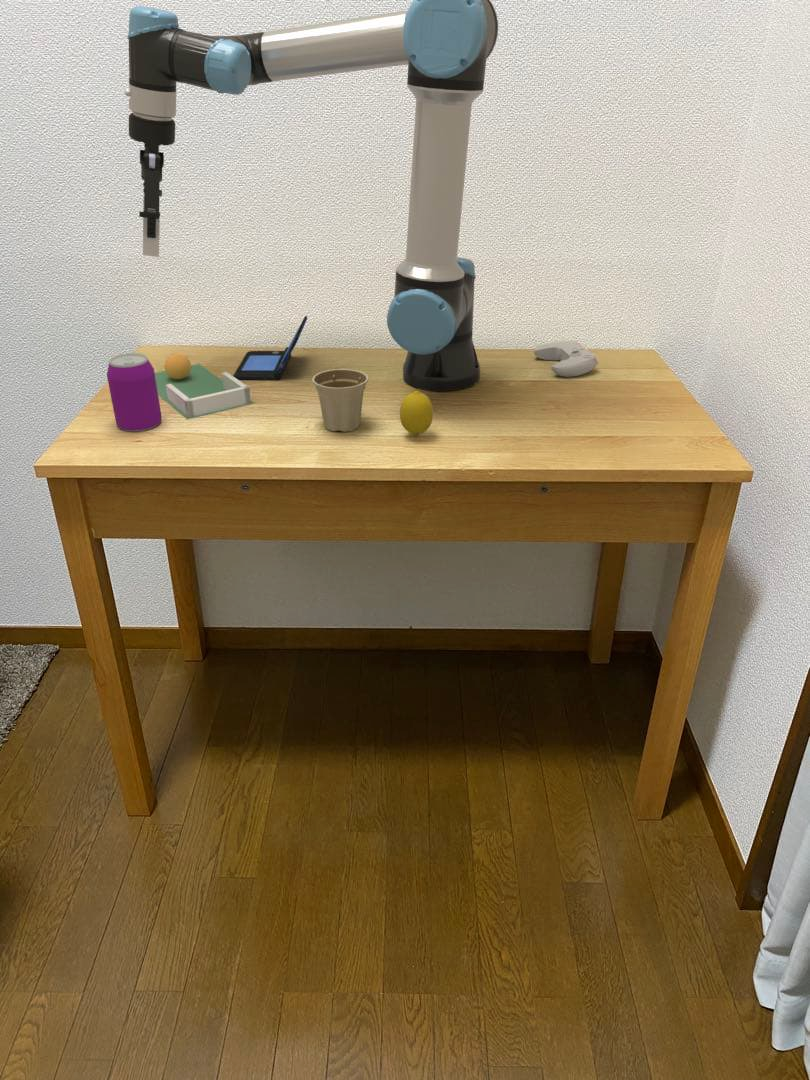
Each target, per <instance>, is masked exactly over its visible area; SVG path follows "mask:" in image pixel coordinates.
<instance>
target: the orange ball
mask: <svg viewBox="0 0 810 1080" xmlns="http://www.w3.org/2000/svg"><path fill="white" fill-rule="evenodd" d="M191 365H192V363H191V361H190V359H189V358H188V357H187V356H186V355H185V354H183V353H177V352H175V353H172V354H170V355H169V356H167V358H166V359H165V361H164V371H166V373H167V374H168V375H169V376H170V377H171V378H173V379H177V380H180V379H184V378H186V377H187V376H188V375H189V373H190V371H191Z"/></svg>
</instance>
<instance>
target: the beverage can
mask: <svg viewBox="0 0 810 1080" xmlns="http://www.w3.org/2000/svg"><path fill="white" fill-rule="evenodd" d="M155 373H156V372H155V369H154V367H153V365H152V363H151V361H150V360H149V358H148V356H147V354H144V353H138V352H137V353H136V352H129V353H122V354H117V355H115V356H112V357H111V358H109V360H108V368H107V372H106V377H107V383H108V389H109V395H110V398H111V404H112V409H113V414H114V420H115V424H116V425H117V427H118V428H119V429H121V430H123V431H125V432H126V431H127V432H144V431H148V430H152V429H154V428H156V427H158V426H159V425H160V424H161V422H162V420H163V419H162V410H161V404H160V398H159V397H160V396H159V395H158V391H157V385H156V379H155Z"/></svg>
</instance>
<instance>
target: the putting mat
mask: <svg viewBox="0 0 810 1080" xmlns="http://www.w3.org/2000/svg"><path fill="white" fill-rule="evenodd" d="M155 379H156V385H157V391H158V397H160V398H161V399H163V400H164V402H166V403H167V404H168V405H170V407H172V408H173V409H174V410H175V411H176V412H178V413H179V414H180V415H181V416H183V417H184V418H185V419H186V420H191V419H196V418H200V417H203V416H208V415H209V416H210V415H212V414H216V413H221V412H225V411H230V410H234V409H239V408H241V407H246V406H251V405H255V402H254V401H252V400H251V403H249V404H245V405H241V406H236V407H232V408H228V409H224V410H219V411H215V412H211V413H207V414H203V415H198V416H194V417H190V418H189V417H187V416H186V415H185V414H184V413H183V412H181V411H180V410H179V409H178V408H177V407H175V406H174V405H173V404H172V403H171V402H170V401H168V397H167V390H166V385H167V384H172V385H173V386H174V387H176V388H177V389H178V390H179V391H181V392H182V393H183V394H184V395H186V396H187V397H188V398H189V399H191V398H195V397H200V396H204V395H209V394H213V393H218V392H222V391H226V389H224V388H223V381H222V379H221V378H220V377H218V376H217V375H216V374H214V373H213V372H211V371H210V370H209V369H207V368H205V366H202V364H199V363H197V364H191V371H190V373H189V375H188V376H187V377H186V378H184V379H180V380H177V379H173V378H171V377H170V376H169V375H168V374H167V373H166V371H165V370H163V371H158V372H155Z"/></svg>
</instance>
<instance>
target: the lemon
mask: <svg viewBox="0 0 810 1080" xmlns="http://www.w3.org/2000/svg"><path fill="white" fill-rule="evenodd" d="M399 417H400V418H399V419H400V423H401V426H402V427H403V428H404V429H405V431H406V432H408V433H409V434H412V435H414V437H418V436H419V435H420V434H423V433H425V432H426V431H428V429H429V428H430V427H431V425H432V423H433V420H434V407H433V404H432V402H431V399H430V398H429V397H428V396H427V395H426V394H425V393H422V392H420V391H419V390H414V391H413V392H411V393H409V394H408V395H406V396H405V397H404V398H403V399H402V401H401V404H400V409H399Z"/></svg>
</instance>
